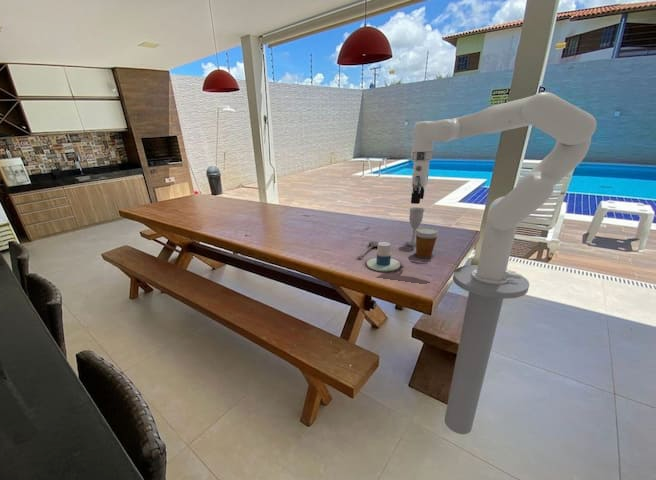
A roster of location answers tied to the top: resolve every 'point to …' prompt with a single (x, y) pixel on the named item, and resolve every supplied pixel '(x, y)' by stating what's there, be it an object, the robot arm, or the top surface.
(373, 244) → the soupspoon
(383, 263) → the cylinder
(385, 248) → the cylinder
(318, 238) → the top surface
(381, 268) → the saucer
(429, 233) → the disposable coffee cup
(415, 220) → the chalice
